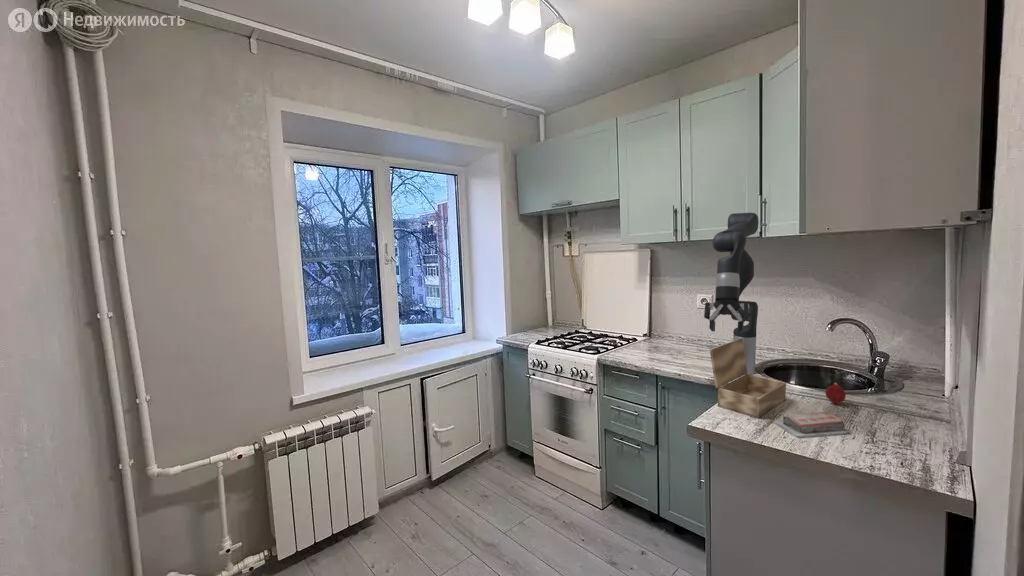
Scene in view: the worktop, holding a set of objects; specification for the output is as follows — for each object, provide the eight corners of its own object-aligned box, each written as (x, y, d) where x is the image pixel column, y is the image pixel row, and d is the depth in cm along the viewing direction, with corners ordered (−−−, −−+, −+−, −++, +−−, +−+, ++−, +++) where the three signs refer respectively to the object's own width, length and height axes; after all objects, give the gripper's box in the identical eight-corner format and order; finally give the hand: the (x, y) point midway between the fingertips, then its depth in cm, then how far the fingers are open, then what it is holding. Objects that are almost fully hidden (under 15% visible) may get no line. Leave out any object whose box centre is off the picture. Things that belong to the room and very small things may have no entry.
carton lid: (717, 388, 150) (715, 387, 151) (747, 373, 165) (745, 373, 166) (711, 349, 150) (709, 349, 151) (742, 338, 165) (739, 338, 166)
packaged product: (824, 408, 137) (851, 421, 127) (823, 421, 137) (850, 435, 127) (774, 411, 135) (798, 424, 125) (773, 425, 136) (797, 439, 126)
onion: (849, 406, 148) (850, 384, 147) (835, 407, 147) (837, 386, 146) (834, 400, 154) (835, 379, 153) (821, 401, 153) (822, 381, 152)
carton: (717, 406, 151) (718, 388, 150) (746, 390, 165) (746, 374, 165) (758, 418, 140) (759, 399, 139) (785, 400, 154) (786, 383, 153)
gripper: (752, 288, 142) (751, 334, 140) (709, 288, 152) (707, 331, 150) (747, 284, 137) (746, 332, 135) (703, 285, 146) (701, 329, 144)
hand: (725, 331), depth 142 cm, fingers open, 8 cm apart
